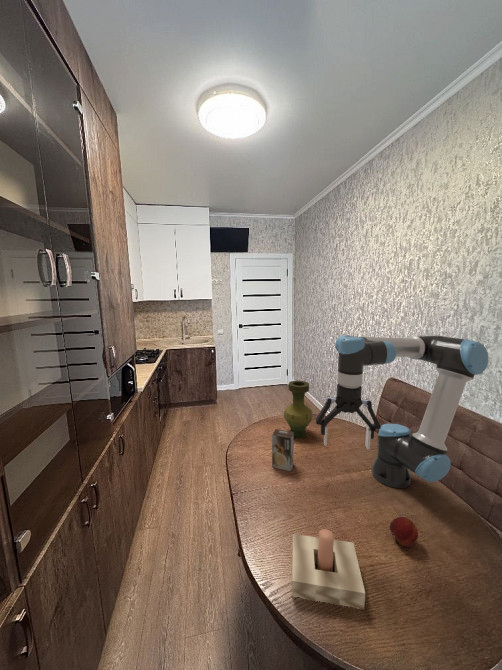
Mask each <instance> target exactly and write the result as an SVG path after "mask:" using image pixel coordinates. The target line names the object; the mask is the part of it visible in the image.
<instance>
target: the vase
mask: <svg viewBox="0 0 502 670" xmlns="http://www.w3.org/2000/svg"><path fill="white" fill-rule="evenodd" d="M288 391H290V392H291V393H292V394H291V395H292V403H291V404H289V405H288V406H286V407H285V408H284V412H283V418H284V419H285V421H286V423H287V424H288V426H289V428H290V430H289V431H290V432H294V439H304V438H305V437H306V436H307V433H306V429H307V428H308V426H309V425H310V423H311V422H312V420H313V410H312V409H311V408H310V407H309V406H307V405H306V404H305V394H306V393H309V391H310V383H309V382H307V381H304V380H292V381H289V382H288Z"/></svg>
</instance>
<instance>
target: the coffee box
mask: <svg viewBox="0 0 502 670" xmlns="http://www.w3.org/2000/svg"><path fill="white" fill-rule="evenodd" d="M294 439H295V438H294V432H290V430H284V429H280V428H279V429H278V428H274V430H273V432H272V434H271V465H272V466H271V467H272V468H275V469H280V470H283V471H288V472H292V470H293V467H294V464H295V463H294V453H295V452H294V449H295V448H294V447H295V445H294V444H295V442H294Z"/></svg>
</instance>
